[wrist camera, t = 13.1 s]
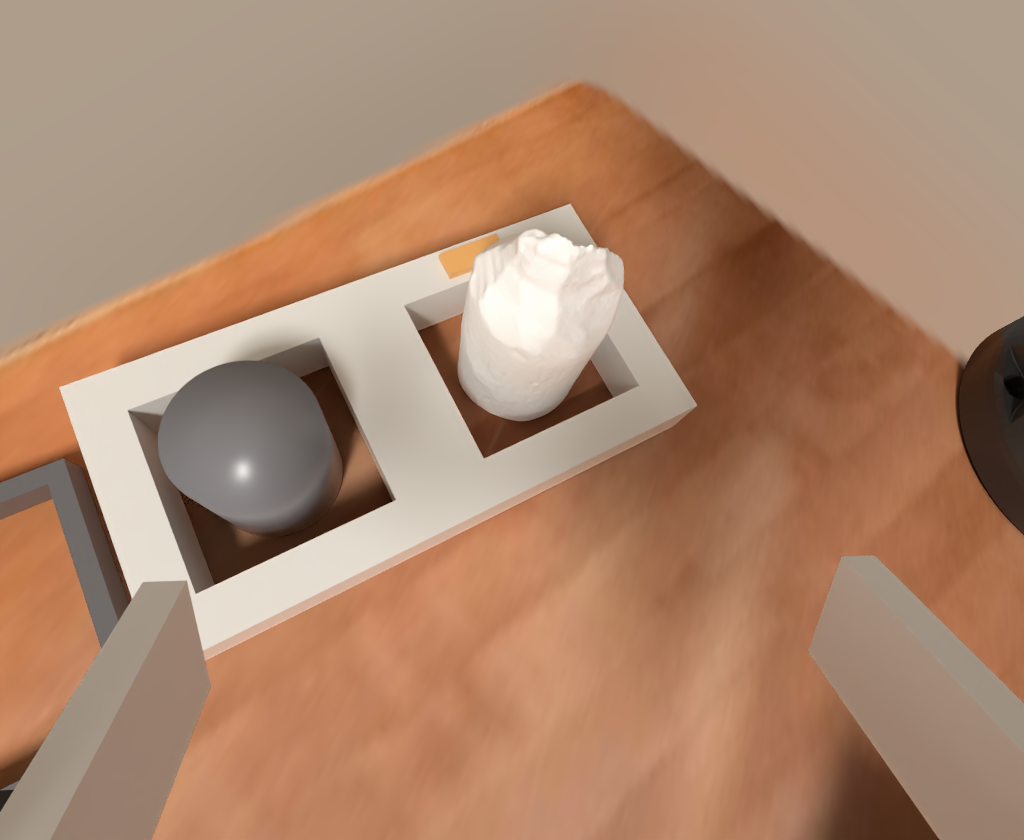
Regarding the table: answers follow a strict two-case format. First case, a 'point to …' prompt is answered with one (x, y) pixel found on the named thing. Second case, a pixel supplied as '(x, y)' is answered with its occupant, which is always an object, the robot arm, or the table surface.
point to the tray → (73, 537)
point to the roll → (534, 321)
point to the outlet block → (312, 449)
